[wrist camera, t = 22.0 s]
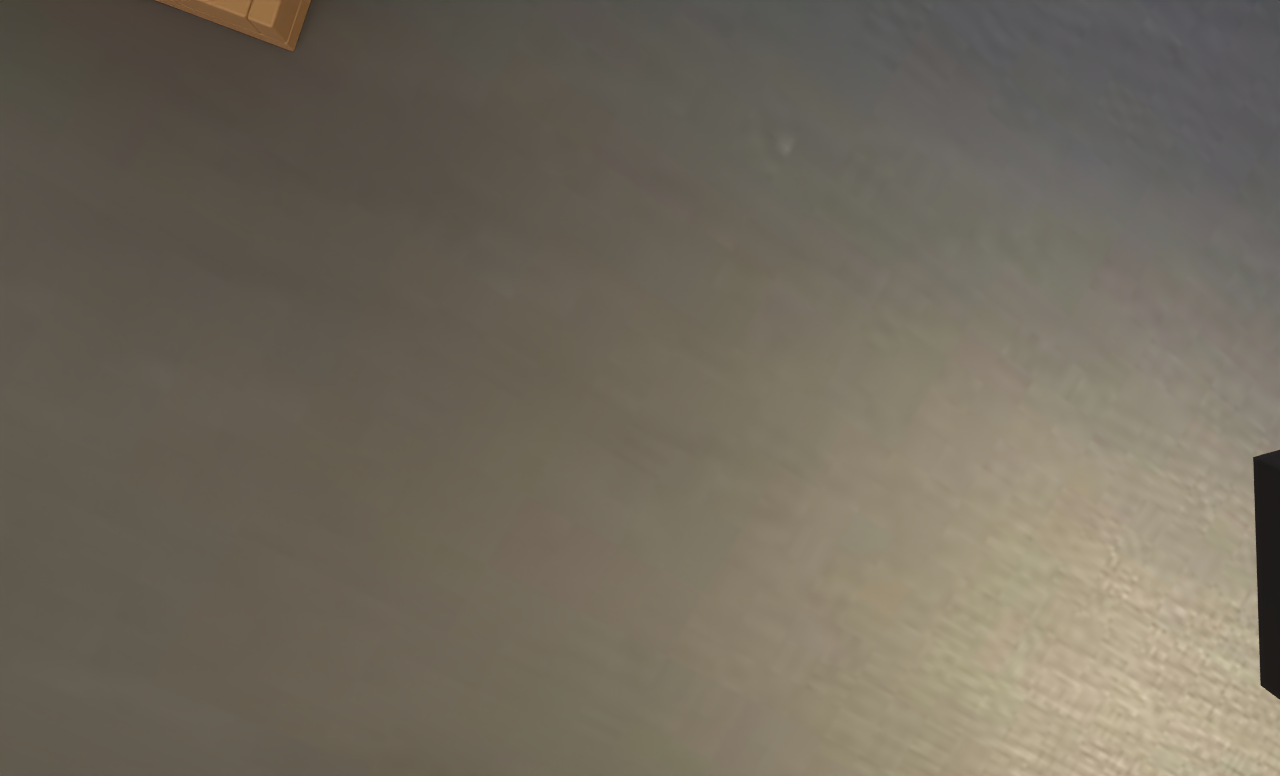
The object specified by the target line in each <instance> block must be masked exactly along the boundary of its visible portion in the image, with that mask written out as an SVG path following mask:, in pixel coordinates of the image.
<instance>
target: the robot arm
mask: <svg viewBox="0 0 1280 776" xmlns="http://www.w3.org/2000/svg"><path fill="white" fill-rule="evenodd" d="M1253 462H1254V493H1255V525H1256V556H1257V587H1258V618H1259V649H1260V681H1261V686H1262V687H1264V688H1265V689H1266V690H1268V691H1269V692H1270V693H1272V694H1273V695H1274V696H1276V697H1277V698H1278V699H1280V450H1278V451H1274V452H1270V453H1267V454H1263V455H1260V456H1256V457H1253Z"/></svg>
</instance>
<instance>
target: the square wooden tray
mask: <svg viewBox="0 0 1280 776" xmlns="http://www.w3.org/2000/svg"><path fill="white" fill-rule="evenodd" d="M156 1H159V2H161V3H164V4H167V5H169V6H172V7H175V8H177V9H180V10H183V11H185V12H188V13H191V14H193V15H196V16H199V17H201V18H204V19H207V20H209V21H212V22H215V23H217V24H220V25H223V26H225V27H228V28H231V29H234V30H236V31H239V32H242V33H244V34H247V35H250V36H252V37H255V38H258V39H260V40H263V41H266V42H268V43H271V44H274V45H276V46H279V47H282V48H284V49H287V50H290V51H294V49H295V47H296V44H297V41H298V38H299V35H300V32H301V29H302V26H303V23H304V20H305V17H306V14H307V11H308V8H309V5H310V2H311V0H156Z"/></svg>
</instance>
